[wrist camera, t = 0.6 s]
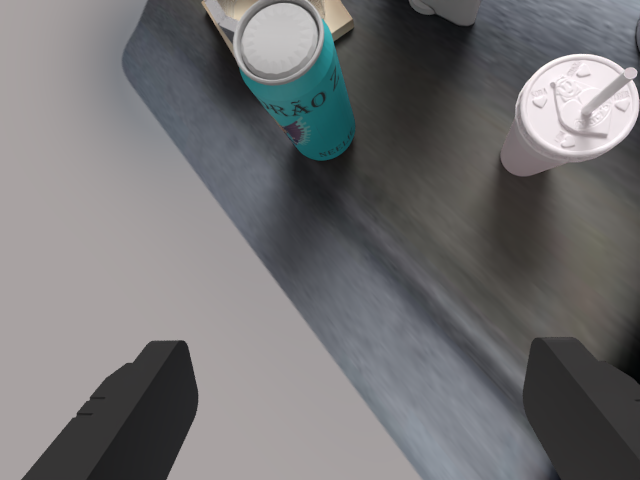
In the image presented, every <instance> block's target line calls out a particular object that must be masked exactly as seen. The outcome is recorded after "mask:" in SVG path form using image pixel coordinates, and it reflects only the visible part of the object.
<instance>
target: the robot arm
mask: <svg viewBox="0 0 640 480" xmlns="http://www.w3.org/2000/svg"><path fill="white" fill-rule="evenodd" d="M636 35H637V45H638V48H639V51H640V19H639V21H638V27H637V32H636ZM523 404H524V409H525V413H526V416H527V418H528V421H529V423H530V424H531V426H532V428H533V430H534V432H535V433H536V435H537V437H538V439H539V441H540V442H541V444H542V446H543V448H544V450H545V451H546V453H547V455H548V457H549V458H550V460H551V462H552V464H553V466H554V467H555V469H556V471H557V473H558V475H559V476H560V478H561V480H640V385H639V384H638V383H637V382H636V381H635V380H634V379H633V378H631V377H630V376H628V375H626V374H625V373H623V372H622V371H620V370H618V369H617V368H615V367H614V366H612V365H610V364H609V363H607V362H606V361H598V360H597V359H596V358H595V357H594V356H593V355H592V354H591V353H590V352H589V351H588V350H587V349H586V348H585V347H584V346H583V344H582V343H581V342H580V341H579V340H577V339H576V338H573V337H550V338H535V339H534V340H533V341H532V344H531V348H530V354H529V359H528V365H527V371H526V377H525V382H524V388H523ZM197 406H198V389H197V384H196V380H195V375H194V371H193V366H192V362H191V357H190V353H189V349H188V346H187V344H186V342H185V341H182V340H179V341H151V342H149V343H148V344H147V345H146V347H145V348H144V349H143V350H142V352H141V353H140V354H139V355H138V357H137V358H136V359H135V361H134V362H133V363H126V364H125V365H124V366H122V367H121V368H119V369H118V370H117V371H115V372H114V373H113V374H111V375H110V376H108V377H107V378H106V379H105V380H104V381H103V382H102V384H101V385H100V386H99V387H98V388H97V389H96V391H95V392H94V393H93V394H92V395H91V397H90V401H86V403H85V404H84V405H83V406H82V407H81V409H80V410H79V411H78V412H77V416H76V418H72V419H71V421H70V422H69V423H68V424H67V425H66V427H65V428H64V429H63V430H62V432H61V433H60V434H59V435H58V436H57V438H56V439H55V440H54V441H53V442H52V444H51V445H50V446H49V447H48V448H47V450H46V451H45V452H44V453H43V454H42V455H41V457H40V458H39V459H38V460H37V462H36V463H35V464H34V465H33V466H32V467H31V469H30V470H29V471H28V472H27V473H26V475H25V476H24V477H23V478H22V479H21V480H166V479H167V477H168V475H169V472H170V470H171V468H172V466H173V464H174V461H175V459H176V457H177V455H178V453H179V451H180V448H181V446H182V444H183V442H184V440H185V437H186V436H187V433H188V431H189V429H190V426H191V425H192V422H193V420H194V418H195V415H196V411H197Z"/></svg>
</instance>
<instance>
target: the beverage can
mask: <svg viewBox="0 0 640 480" xmlns="http://www.w3.org/2000/svg"><path fill="white" fill-rule="evenodd" d="M233 51H234V55H235V59H236V61H237V64H238V66H239V69H240V73H241V76H242V78H243V80H244V82H245V83H246V85H247V86H248V87H249V89H250V90H251V91H252V93H253V94H254V95H255V96H256V98H257V99H258V100H259V101H260V103H261V104H262V105H263V106H264V108H265V109H266V110H267V111H268V113H269V114H270V115H271V116H272V118H273V119H274V120H275V121H276V123H277V124H278V125H279V126H280V128H281V129H282V130H283V131H284V133H285V134H286V135H287V137H288V138H289V139H290V140H291V142H292V143H293V144H294V145H295V147H296V148H297V149H298V150H299V151H300V152H301V153H302V154H303V155H304V156H306V157H308V158H310V159H313V160H329V159H333V158H335V157H337V156H339V155H340V154H342V153H343V152H344V151H345V150H346V149H347V148H348V146H349V145H350V143H351V142H352V140H353V137H354V133H355V120H354V116H353V112H352V108H351V105H350V101H349V97H348V94H347V90H346V86H345V82H344V79H343V75H342V71H341V68H340V64H339V60H338V57H337V53H336V49H335V45H334V42H333V38H332V34H331V32H330V29H329V27H328V25H327V24H326V23H325V21H324V20H323V19H322V18H321V16H320V14H319V12H318V11H317V10H316V8H315V7H314V6H313V5H312V4H311V3H310V2H309V1H308V0H259V1H257V2H256V3H254V4H253V5H252V6H251V7H250V8H249V9H248V10H247V11H246V12H245V13H244V14H243V16H242V17H241V19H240V21H239V22H238V24H237V27H236V29H235V33H234V38H233Z"/></svg>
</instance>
